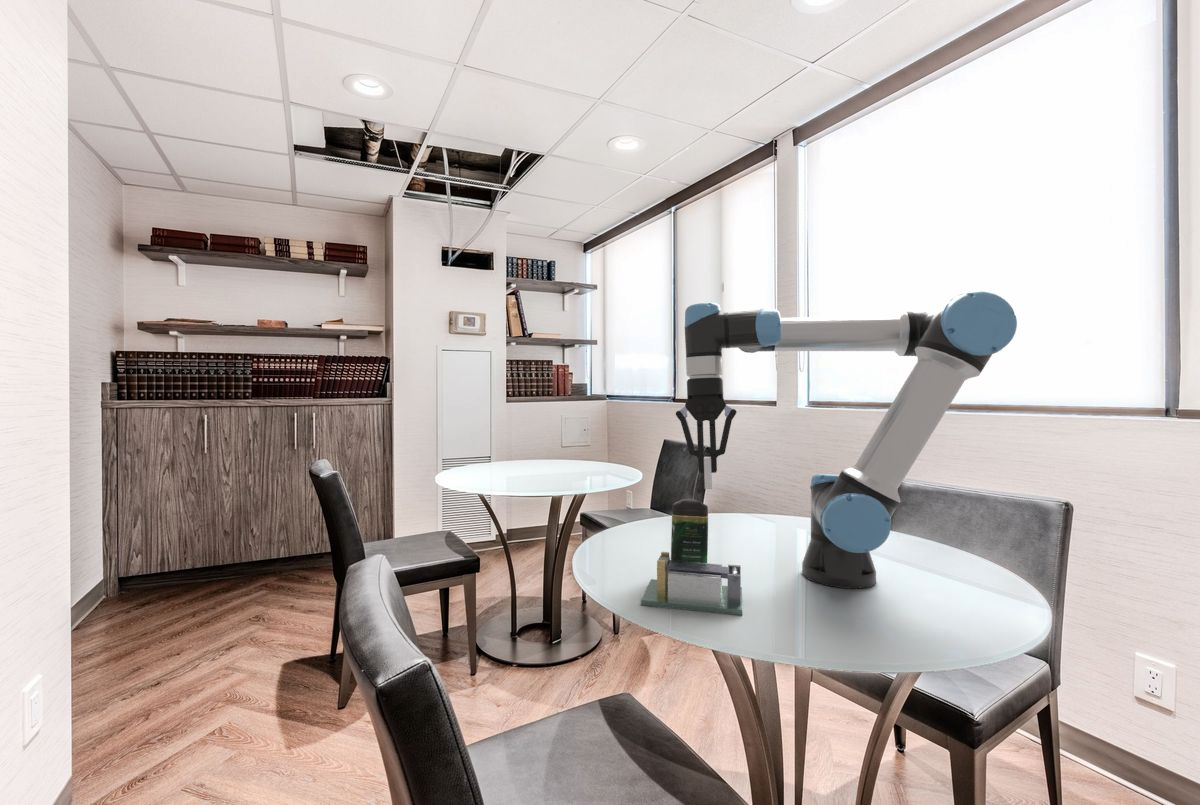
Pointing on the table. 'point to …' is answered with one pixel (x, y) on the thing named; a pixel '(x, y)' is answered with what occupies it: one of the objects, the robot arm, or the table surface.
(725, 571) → the grey rectangular bar
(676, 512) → the coffee jar
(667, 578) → the heatsink base
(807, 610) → the table surface
